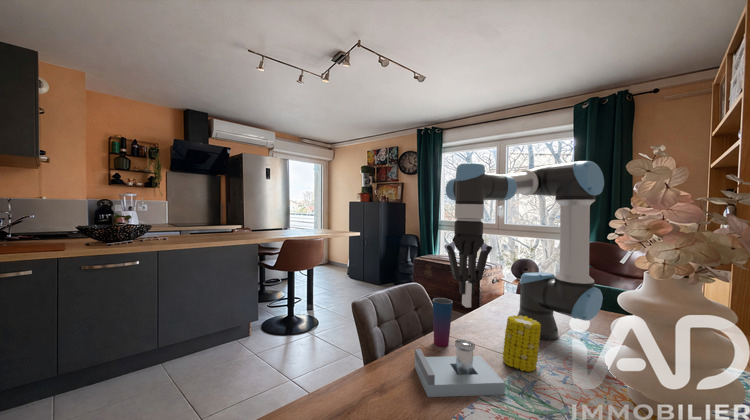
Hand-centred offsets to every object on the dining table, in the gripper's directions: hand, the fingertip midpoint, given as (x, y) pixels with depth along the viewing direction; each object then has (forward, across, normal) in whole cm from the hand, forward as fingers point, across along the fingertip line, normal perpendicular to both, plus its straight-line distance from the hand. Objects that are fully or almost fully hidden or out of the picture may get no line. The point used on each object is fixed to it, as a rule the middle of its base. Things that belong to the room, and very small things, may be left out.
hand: (466, 305), depth 82 cm
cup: (+21, -1, -22) cm, 30 cm away
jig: (+20, +2, 0) cm, 20 cm away
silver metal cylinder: (+20, 0, 0) cm, 20 cm away
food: (+21, -21, -7) cm, 30 cm away
